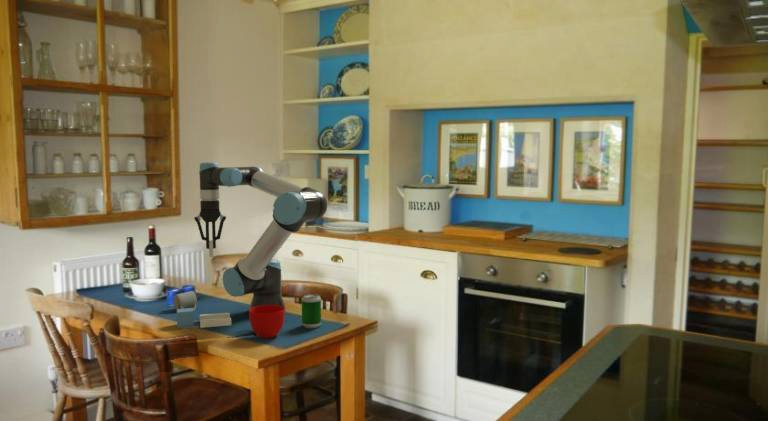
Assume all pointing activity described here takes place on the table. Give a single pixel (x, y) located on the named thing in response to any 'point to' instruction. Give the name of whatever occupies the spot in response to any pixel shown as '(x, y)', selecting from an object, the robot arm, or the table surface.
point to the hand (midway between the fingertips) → (211, 256)
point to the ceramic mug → (185, 300)
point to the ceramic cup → (267, 320)
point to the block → (185, 317)
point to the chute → (212, 320)
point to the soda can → (311, 311)
